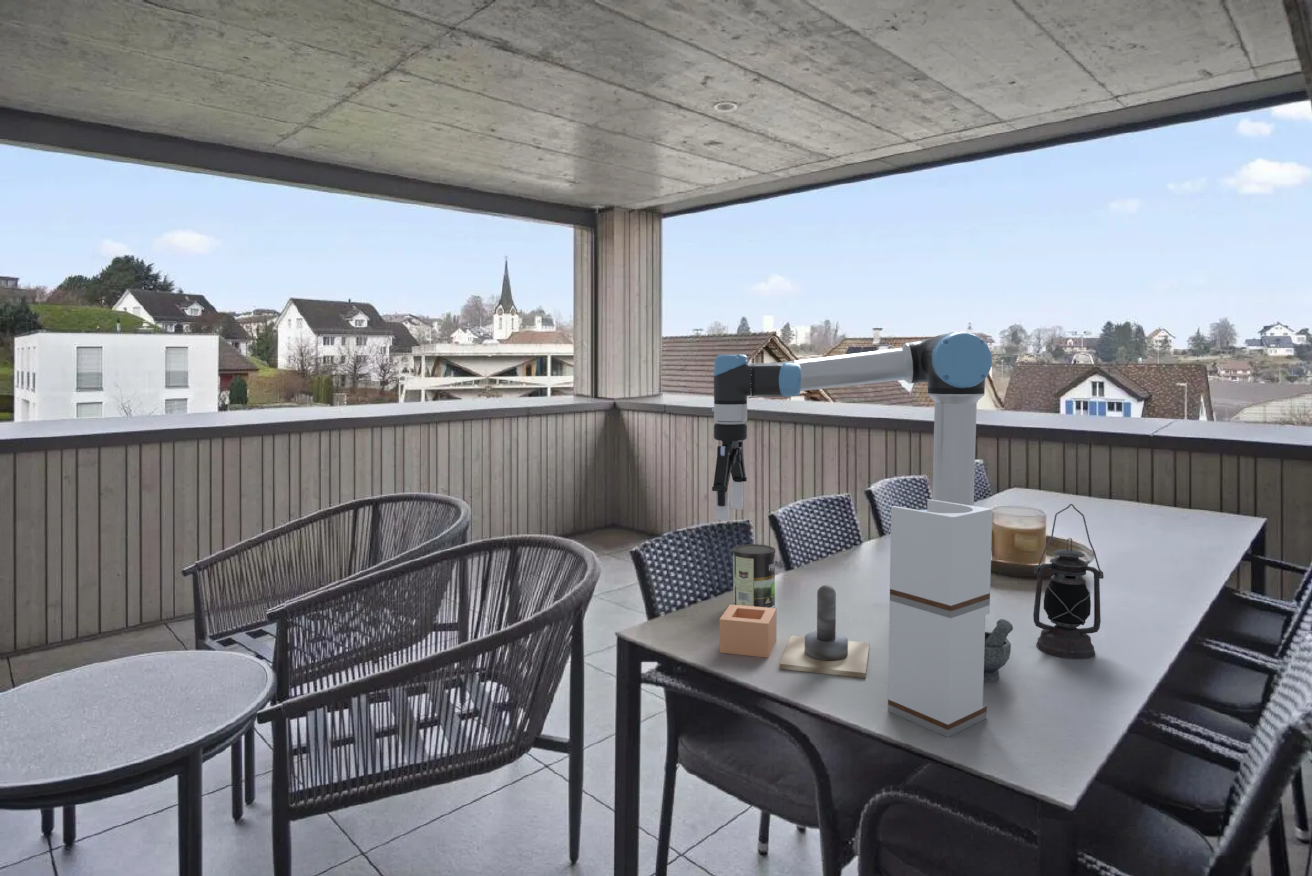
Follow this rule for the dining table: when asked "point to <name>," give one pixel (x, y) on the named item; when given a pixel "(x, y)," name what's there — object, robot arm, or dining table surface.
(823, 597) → the post stand
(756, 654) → the square collar
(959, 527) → the white square vase
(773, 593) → the coffee can
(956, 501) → the robot arm
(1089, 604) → the lantern
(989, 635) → the mortar and pestle
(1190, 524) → the dining table surface
